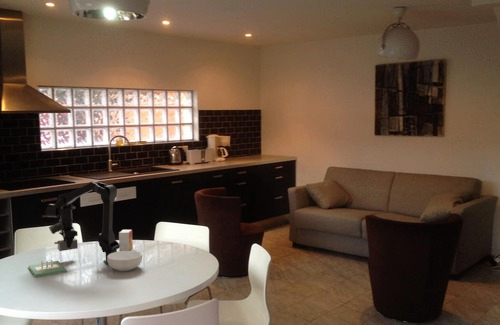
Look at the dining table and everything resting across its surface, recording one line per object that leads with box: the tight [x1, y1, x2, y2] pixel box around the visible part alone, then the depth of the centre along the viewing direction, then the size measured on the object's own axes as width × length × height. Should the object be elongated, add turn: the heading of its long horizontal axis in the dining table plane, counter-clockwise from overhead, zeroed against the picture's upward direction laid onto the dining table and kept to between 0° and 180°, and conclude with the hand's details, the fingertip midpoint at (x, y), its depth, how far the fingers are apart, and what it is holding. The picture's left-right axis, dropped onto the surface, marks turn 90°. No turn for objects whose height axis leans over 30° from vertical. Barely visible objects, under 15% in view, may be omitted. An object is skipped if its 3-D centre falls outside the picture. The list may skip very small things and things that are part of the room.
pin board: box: [28, 260, 68, 278], centre depth 243 cm, size 18×14×4 cm
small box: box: [118, 229, 134, 251], centre depth 279 cm, size 8×6×10 cm
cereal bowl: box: [107, 250, 143, 272], centre depth 243 cm, size 17×17×7 cm
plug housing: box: [53, 237, 79, 252], centre depth 259 cm, size 4×11×4 cm, turn 124°
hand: (67, 246), depth 259 cm, fingers closed on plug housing, 4 cm apart
